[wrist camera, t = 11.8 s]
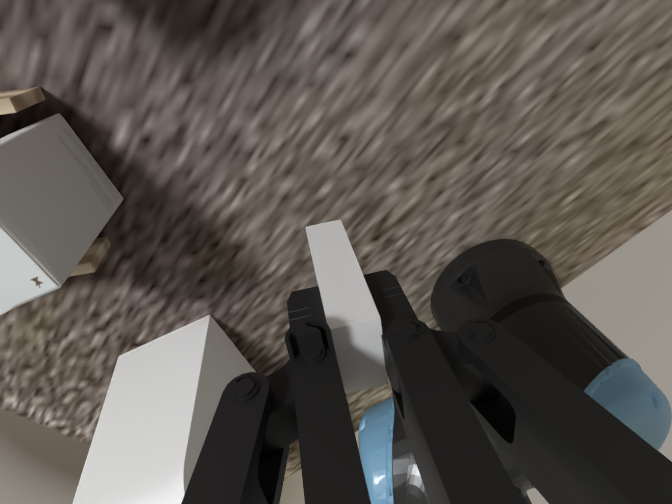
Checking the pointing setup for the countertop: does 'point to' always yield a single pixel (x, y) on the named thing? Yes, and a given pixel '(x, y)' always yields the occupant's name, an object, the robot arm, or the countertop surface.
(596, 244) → the countertop surface
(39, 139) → the supplement box
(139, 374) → the milk
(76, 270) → the box
